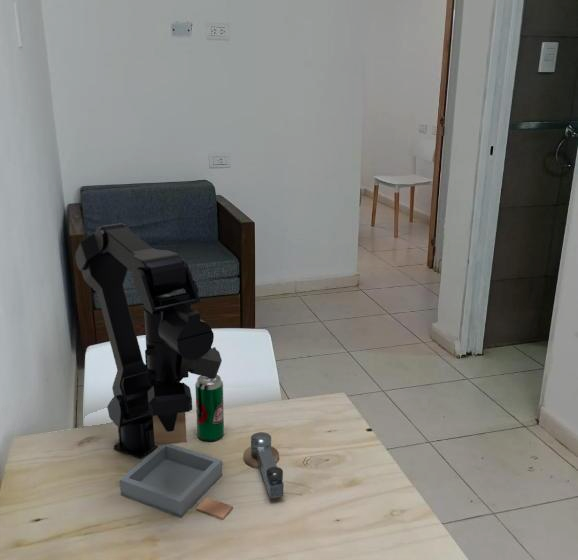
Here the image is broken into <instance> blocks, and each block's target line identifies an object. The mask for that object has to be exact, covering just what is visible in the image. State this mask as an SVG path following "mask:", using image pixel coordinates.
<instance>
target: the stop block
mask: <svg viewBox="0 0 578 560" xmlns="http://www.w3.org/2000/svg"><path fill="white" fill-rule="evenodd" d="M186 421H187V419H186V412H183V413H178V414H177V418H176V423H175V427H174V431H170V432H167V431H166V429H165V428H164V426H163V424H162V423H161V421H160V419H159V418H158V416H157V415H156V416H153V427H154V441H155V446H156V447H159V446H160V445H166V444H173V445H175V444H181V443H188V441H187V422H186Z"/></svg>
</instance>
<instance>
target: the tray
mask: <svg viewBox="0 0 578 560" xmlns="http://www.w3.org/2000/svg"><path fill="white" fill-rule="evenodd" d="M222 476H223V460H222V459H221V458H220V459H219V458H217V457H213V456H211V455H207V454H204V453H201V452H198V451H194V450H191V449H188V448H186V447H182V446H178V445H175V444H166V445H158V446H157V447H156V448H155V449H154V450H153V451H152V452H151V453H150V454H149V453H148V454H147V456H146V457H144V459H142V460H141V461H140V462H139V463H137V464H136V465H134V467H133V468H131V469H130V470H129V471H128V472H127V473H125V474H124V475H123V476H122V477H121V478H119V479H118V481H119V490H120V491H119V492H120V496H122V497H125V498H128V499H131V500H133V501H136V502H139V503H141V504H143V505H145V506H149V507H152V508H154V509H157V510H159V511H162V512H164V513H168V514H170V515H173V516H176V517H178V518H181V519H182V518H183V517H184V516H185V515H186V514H187V513H188V511H190V510H191V509H192V507H193V506H195V504H197V502H199V500H200V499H201V498H202V497H203V496H205V494H206V493H207V492H208V491H209V490H210V489H211V488H212V487H213V486H214V484H215V483H216V482H217V481H218V480H219V479H221V478H222Z"/></svg>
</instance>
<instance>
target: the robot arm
mask: <svg viewBox="0 0 578 560" xmlns="http://www.w3.org/2000/svg"><path fill="white" fill-rule="evenodd" d="M75 263H76V266H77V268H78V270H79V271H81V275H82V278H83V280H84V282H85V283H86V284H87V285H88V286H89V287H91V289H93V290H94V292H96V294H97V297H98V301H99V306H100V308H101V312H102V316H103V321H104V324H105V328H106V332H107V334H108V339H109V340H108V341H109V343H110V347H111V352H112V355H113V358H114V359H113V360H114V363H115V366H116V370H117V371H116V375H115V376H114V377H115V378H114V381H113V384H112V393H113V397H112V398H111V400H110V401H109V402H108V404H107V411H108V417H109V418H110V420H111V421H112V422H113V423H114V425H116V426H117V430H118V440H119V441H118V442H117V443H116V444H114V445H113V450H115V451H118V452H121V453H124V454H127V455H130V456H132V457H135V458H139V459H141V458H143V457H145V456H146V455H148V454H149V452H151V451H152V450H153V449H154V448H157V446H155V441H154V427H153V416H156V415H157V416H158V418H159V419H160V421H161V423H162V424H163V426H164V428H165V429H166V431H167V432H170V431H174V427H175V423H176V418H177V414H178V413H183V412H185V413H188V412H191V411H192V410H193V399H192V398H193V397H192V393H191V388H190V386H188V384H186V383H184V382H181V381H182V380H183V379H186V378H189V373H190V374H193V375H197V376H205V377H207V378H209V379H215V378H216V375H218V373H219V369H220V368H221V364H222V362H223V361H222V357H221V356H222V355H221V353H220V351H219V350H217V348H216V347H215V346H213V343H214V339H215V335H214V332H213V330H212V327H211V326H210V324H208V323H207V322H206V321H204V320H202V319H201V313H200V312H199V311H198V310H196V309H193V308H192V305H196V304H197V305H198V304H200V302H201V300H200V297H199V294H198V293H199V291H200V289H199V288H198V285H197V282H196V280H195V278H194V276H193V274H192V272H191V269H190V267H189V265H188V263H187V261H186V260H184V257H182V256H181V255H180V254H179V253H177V252H173V251H171V250H165V249H156V248H153V247H152V246H151V245H150V244H148V243H147V242H146V241H144V240H143V239H142V238H140V237H139V236H137V234H135V233H134V232H132V231H131V230H130V227H129V225H127V224H125V223H121V222H120V223H113V224H105V225H101V226H99V227H97V228H96V229H95V231H94V233H93V234H91V235H90V236H88V237H87V238H85V239H84V240H82V241H81V242H80V243H79V245H78V248H77V249H76V251H75ZM128 270H129V271H130V272H131V273H132V281H133V282H132V284H133V286H134V288H135V290H136V291H137V293H138V296H139V300H140V301H141V302H142V305H143V314H144V315H143V316H144V332H145V346H146V347H145V350H144V354H145V355H144V357H145V363H144V359H143V355H142V351H141V347H140V344H139V340H138V337H137V334H136V329H135V325H134V321H133V318H132V314H131V310H130V306H129V303H128V299H127V295H126V291H125V288H124V283H125V279H126V277H127V273H128ZM182 291H185V292H183V293H179V292H182ZM172 293H178V294H174V295H169V294H172ZM212 346H213V347H212Z"/></svg>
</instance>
